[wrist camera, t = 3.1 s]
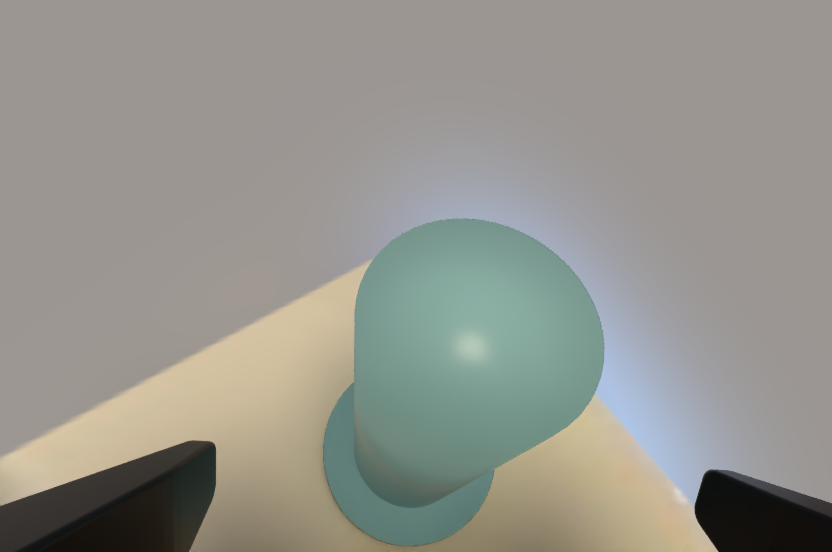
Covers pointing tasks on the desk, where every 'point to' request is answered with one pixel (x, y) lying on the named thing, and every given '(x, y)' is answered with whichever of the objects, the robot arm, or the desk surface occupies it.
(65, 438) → the desk surface
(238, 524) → the desk surface
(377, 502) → the teal flanged cylinder
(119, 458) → the desk surface
